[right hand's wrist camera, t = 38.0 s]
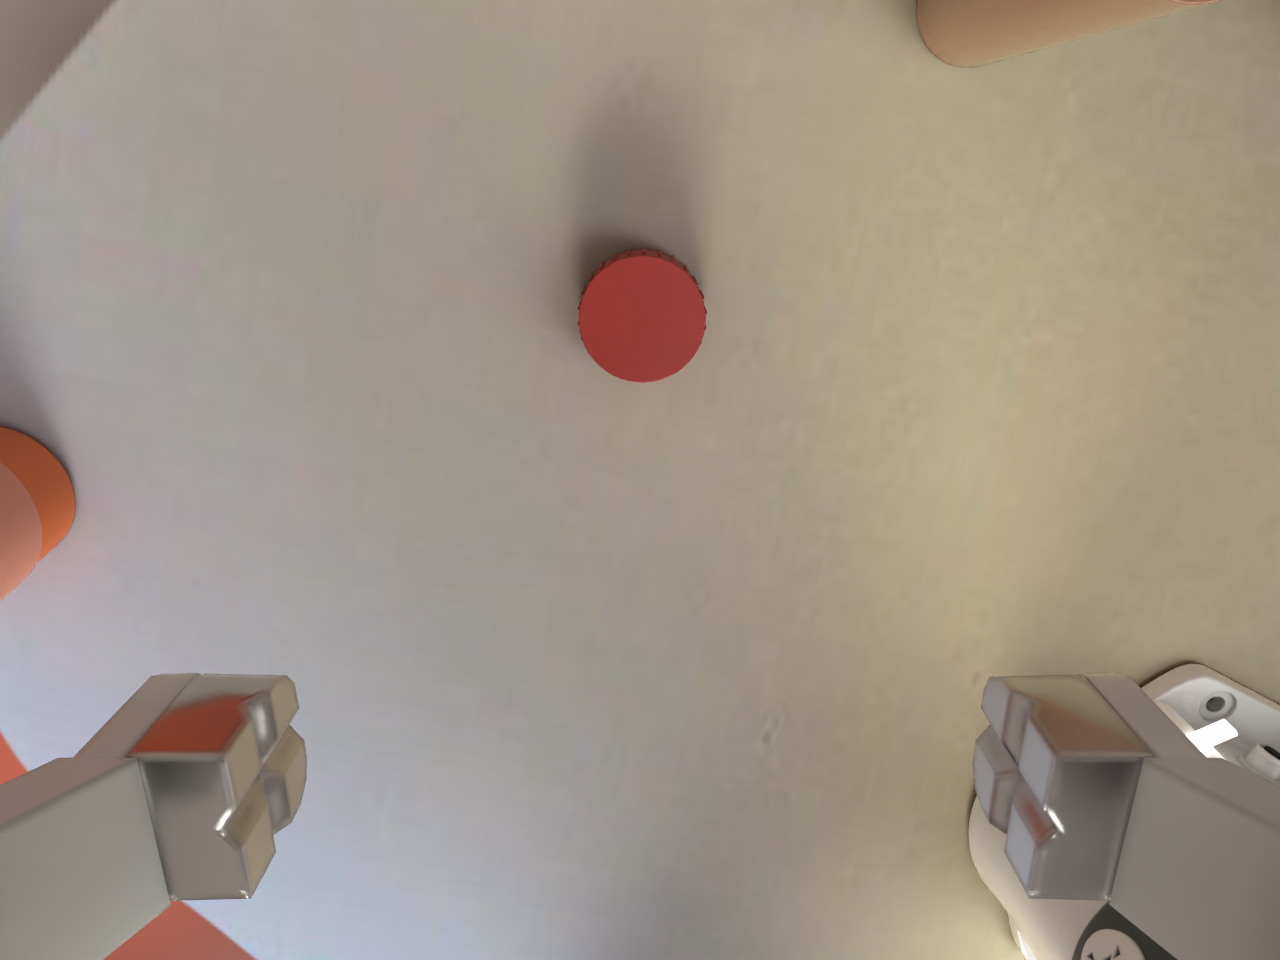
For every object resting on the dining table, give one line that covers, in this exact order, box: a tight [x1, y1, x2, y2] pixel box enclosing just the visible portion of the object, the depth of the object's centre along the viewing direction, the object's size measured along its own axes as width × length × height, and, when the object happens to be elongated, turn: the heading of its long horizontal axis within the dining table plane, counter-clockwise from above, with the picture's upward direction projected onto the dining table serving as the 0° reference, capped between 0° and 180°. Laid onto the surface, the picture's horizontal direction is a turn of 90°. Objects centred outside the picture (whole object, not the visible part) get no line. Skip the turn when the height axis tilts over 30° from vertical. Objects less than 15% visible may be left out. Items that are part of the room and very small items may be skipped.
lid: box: [578, 248, 707, 382], centre depth 35 cm, size 5×5×2 cm
